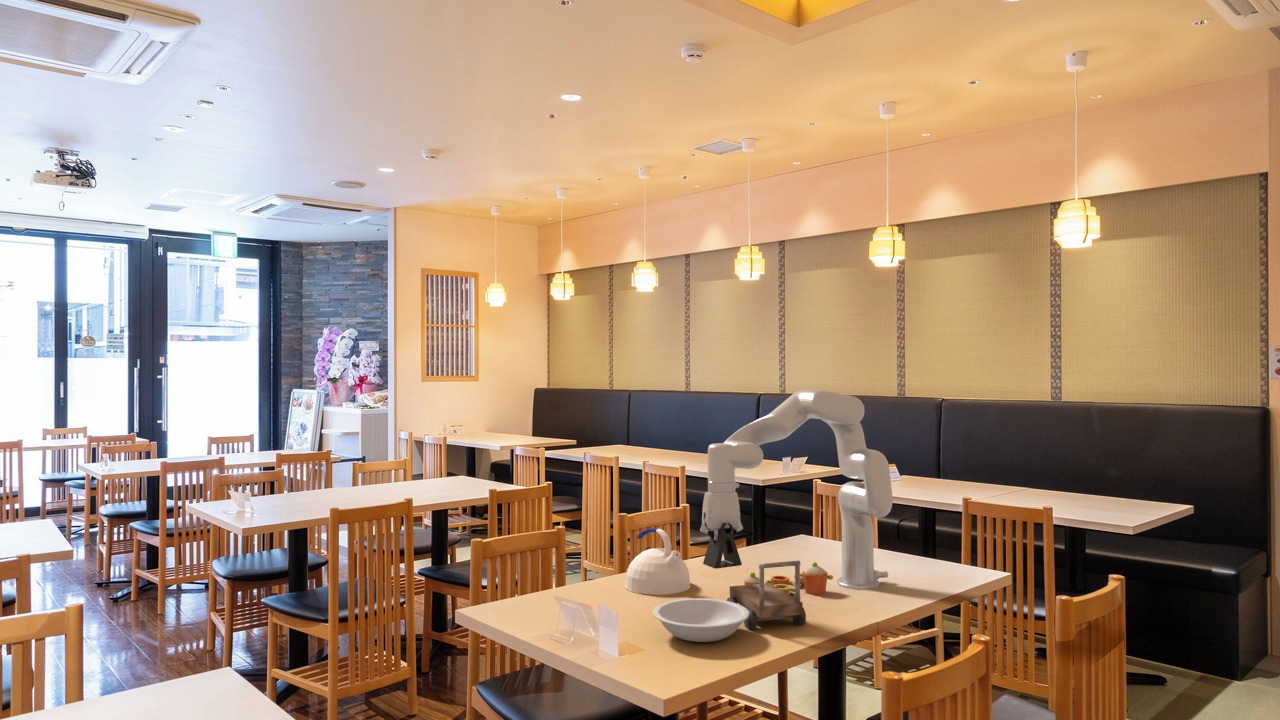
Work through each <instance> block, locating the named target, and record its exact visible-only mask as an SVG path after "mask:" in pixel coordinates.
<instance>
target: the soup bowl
mask: <svg viewBox="0 0 1280 720" xmlns="http://www.w3.org/2000/svg"><path fill="white" fill-rule="evenodd" d="M652 614H653V616H654V618H655V619H656V620H658V621H660V623H661V624H662V626H663V627H664V629H666V630H667V631H668V632H669V633H670V634H671V635H673V636H674V637H676V638H678V639H680V640H685V641H688V642H696V643H709V642H710V643H711V642H716V641H721V640H723V639H726V638H728V637H730V636H732V635H733V634H734V633H735V632H736V631H737V630H738V629H739V628H740V626H741V624H742V623H744V621H745V620H746V619H747V618H748V617H749V611H748V610H747V609H746V608H745V607H743V606H741V605H739V604H736V603H733V602H729V601H727V600H724V599H717V598H716V599H715V598H700V597H699V598H698V597H697V598H696V597H695V598H681V599H674V600H670V601H666V602H663V603H661V604H659V605H657V606H655V607H654V609H653V612H652Z"/></svg>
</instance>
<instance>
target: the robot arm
mask: <svg viewBox="0 0 1280 720" xmlns="http://www.w3.org/2000/svg"><path fill="white" fill-rule="evenodd" d="M864 416H865V405H864V403H863V401H861V400H860V399H859V398H858V397H856V396H853V395H848V394H843V393H839V392H833V391H828V390H824V389H809V388H808V389H799V390H797V391H795V392H794V393H792V394H791V395H790V396H789V397H788V398H787V399H785V400H784V401H783V402H782V403H780V404H779V405H778V406H776V408H774V409H773V410H772V411H771V412H770V413H768V414H766V415H765V416H763V417H760V418H758V419H755V420H754V421H752V422H750V423H748V424H746V425H744V426H742V427H740V428H739V429H738V430H736V431H735V432H734V433H733V434H731V435H730V436H728V438H727V439H726V440H725V441H724V442H717V443H716V442H715V443H710V444H709V445H708V447H707V491H705V492H704V497H703V502H702V511H701V512H702V516H701V526H700V529H699V531H700V532H701V533H704V534H705V535H708V536H709V537H711V538H712V541H713V542H714V545H715V542H716V541H717V540H718V529H720V528H721V526H722V524H724V523H726V524H727V525H726V526H725V528H724V529H729V528H730V526H729V524H728V523H730V524H731V525H732V528H733V529H732V534H733V537H735V535H737V533H738V532H740V531H742V530H743V529H744V527H743V524H742V522H741V509H740V502H739V497H738V492H736V490H737V488H740V482H736V471H735V470H736V469H745V470H752V469H755V468H757V467H759V466H761V464H762V463H763V460H764V452H763V449H762V447H760V446H761V445H764V444H767V443H774V442H777V441H781V440H784V439H786V438H789V436H791V434H792V433H794V432H795V431H796V430H797V429H798V428H800V427H801V426H802V425H803V424H804V423H806V421H809V420H810V419H816V420H821V421H823V422H824V423H826V424H827V425H828V426H829V427H830V428H831V429H832V431H833V433H834V436H835V442H836V449H837V458H838V465H839V466H838V467H839V471H840V473H841V474H842V475H843V476H845V477H847V478H849V479H854V480H860V481H861V482H860V481H847V482H846V483H844V484H842V485H841V487H840V489H839V491H838V493H837V499H838V501H837V503H838V506H839V512H840V518H841V519H840V520H841V577H838V578H837V579H836V584H837V585H838V586H839V587H841V588H844V589H848V590H849V589H851V590H863V591H864V590H865V591H867V590H874V589H877V588H879V587H880V581H879V579H880V578H882V579H884V578H886V579H887V578H889V573H888V571H887V570H884V571H880V570H879V569H878V570H877V569H875V564H874V563H875V562H874V561H875V559H874V557H875V556H874V554H875V553H874V551H875V550H874V548H875V547H874V545H875V543H874V534H875V533H874V525H873V524H874V523H873V520H872V518H884V517H886V516H888V515H889V513H890V512H891V511H892V508H893V489H892V487H893V486H892V479H891V471H890V469H891V468H890V465H889V462H888V460H887V458H886V456H885V455H884V454H883V453H882V452H880V451H879V450H876V449H871V448H870V449H869V448H867V443H866V439H865V438H866V437H865V434H864V430H863V426H862V424H861V421H862V420H863V418H864ZM862 481H863V482H862ZM871 517H872V518H871ZM723 552H725V553H726V554H730V545H729V541H728V540H725V545H724V550H723Z"/></svg>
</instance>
